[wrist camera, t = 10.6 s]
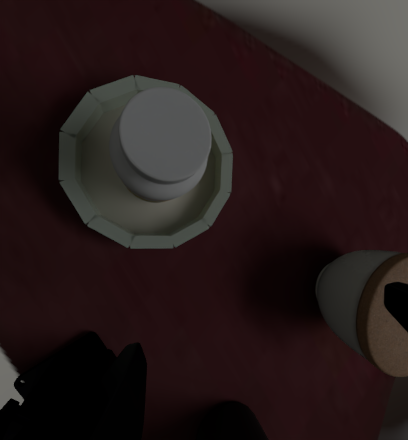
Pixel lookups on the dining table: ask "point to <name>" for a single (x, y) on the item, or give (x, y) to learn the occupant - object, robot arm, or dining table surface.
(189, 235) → the bowl
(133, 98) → the supplement bottle
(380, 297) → the lidded jar
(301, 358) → the dining table surface
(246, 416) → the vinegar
